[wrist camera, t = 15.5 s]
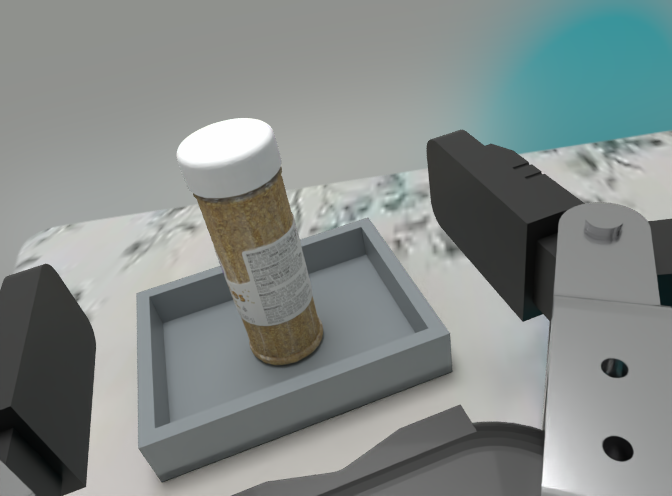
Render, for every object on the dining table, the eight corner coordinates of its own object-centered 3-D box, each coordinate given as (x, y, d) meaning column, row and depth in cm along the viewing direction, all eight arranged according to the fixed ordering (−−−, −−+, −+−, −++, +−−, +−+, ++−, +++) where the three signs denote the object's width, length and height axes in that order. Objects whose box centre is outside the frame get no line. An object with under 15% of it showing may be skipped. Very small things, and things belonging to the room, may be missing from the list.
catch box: (373, 251, 39) (368, 217, 37) (452, 371, 29) (449, 333, 27) (153, 325, 36) (136, 293, 35) (161, 482, 27) (138, 448, 25)
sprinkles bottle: (242, 332, 34) (165, 135, 26) (308, 302, 35) (254, 105, 27) (265, 382, 30) (185, 173, 22) (338, 347, 31) (286, 136, 23)
